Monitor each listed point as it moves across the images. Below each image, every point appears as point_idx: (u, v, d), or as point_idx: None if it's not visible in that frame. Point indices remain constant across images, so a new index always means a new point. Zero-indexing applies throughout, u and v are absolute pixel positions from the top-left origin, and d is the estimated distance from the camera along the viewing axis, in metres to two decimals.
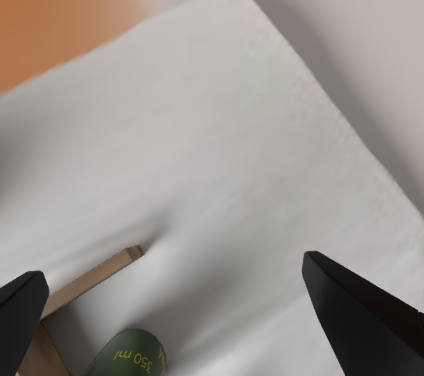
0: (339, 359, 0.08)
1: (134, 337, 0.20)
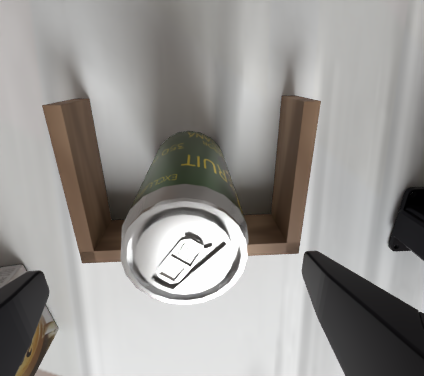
0: (339, 359, 0.08)
1: (159, 149, 0.18)
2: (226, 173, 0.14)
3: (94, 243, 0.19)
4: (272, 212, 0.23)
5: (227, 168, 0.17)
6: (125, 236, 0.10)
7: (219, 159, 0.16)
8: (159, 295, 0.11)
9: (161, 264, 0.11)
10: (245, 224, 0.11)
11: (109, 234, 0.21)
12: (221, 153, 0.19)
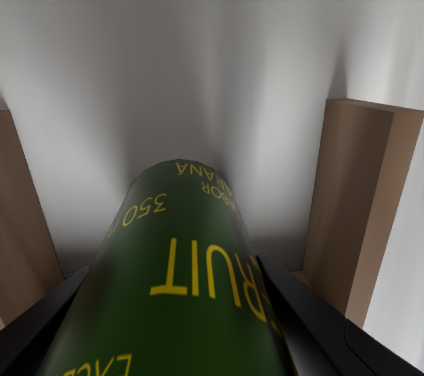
0: None
1: (127, 195, 0.11)
2: (254, 269, 0.07)
3: None
4: (305, 270, 0.16)
5: None
6: None
7: (234, 225, 0.08)
8: None
9: None
10: None
11: None
12: (232, 196, 0.12)
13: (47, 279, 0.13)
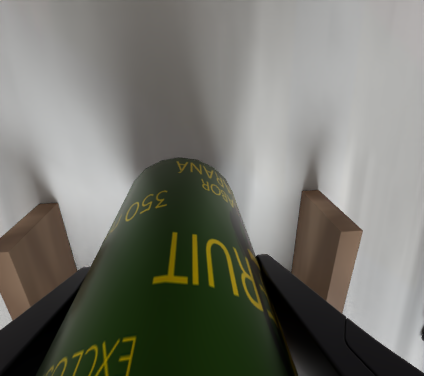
0: None
1: (129, 192, 0.11)
2: (251, 262, 0.07)
3: None
4: None
5: (244, 226, 0.10)
6: None
7: (233, 221, 0.09)
8: None
9: None
10: None
11: None
12: (231, 194, 0.12)
13: None
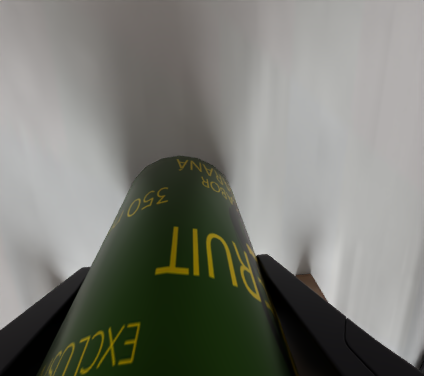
0: None
1: (130, 189, 0.11)
2: (250, 256, 0.07)
3: None
4: None
5: (243, 222, 0.10)
6: None
7: (232, 217, 0.09)
8: None
9: None
10: None
11: None
12: (230, 191, 0.12)
13: None
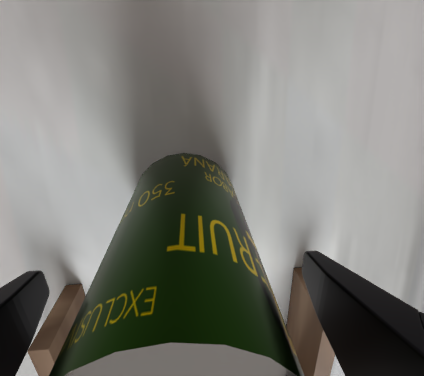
0: (339, 359, 0.08)
1: (138, 184, 0.12)
2: (249, 241, 0.08)
3: None
4: None
5: None
6: None
7: (233, 208, 0.10)
8: None
9: None
10: None
11: None
12: (231, 186, 0.13)
13: None
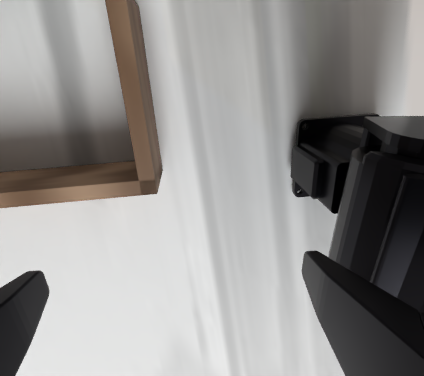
0: (339, 359, 0.08)
1: None
2: None
3: None
4: None
5: None
6: None
7: None
8: None
9: None
10: None
11: None
12: None
13: None
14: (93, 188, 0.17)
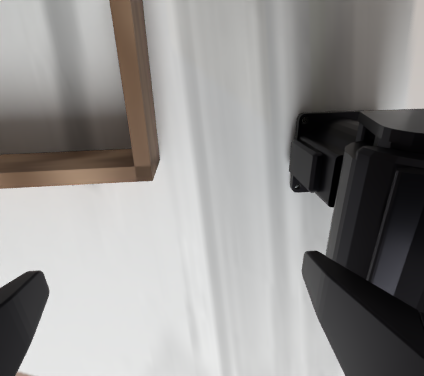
0: (339, 359, 0.08)
1: None
2: None
3: None
4: None
5: None
6: None
7: None
8: None
9: None
10: None
11: None
12: None
13: None
14: (88, 172, 0.16)
